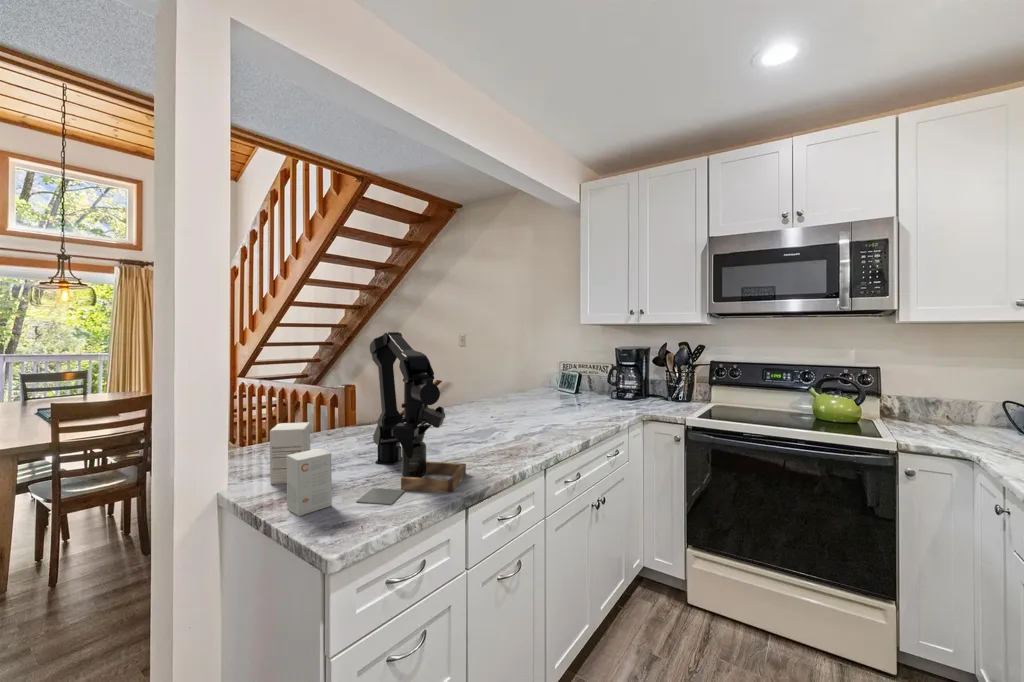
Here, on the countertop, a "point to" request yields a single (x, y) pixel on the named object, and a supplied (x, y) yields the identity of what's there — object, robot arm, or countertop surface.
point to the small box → (309, 481)
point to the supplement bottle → (415, 460)
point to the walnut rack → (436, 484)
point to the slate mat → (381, 496)
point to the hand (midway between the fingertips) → (414, 454)
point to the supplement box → (286, 447)
